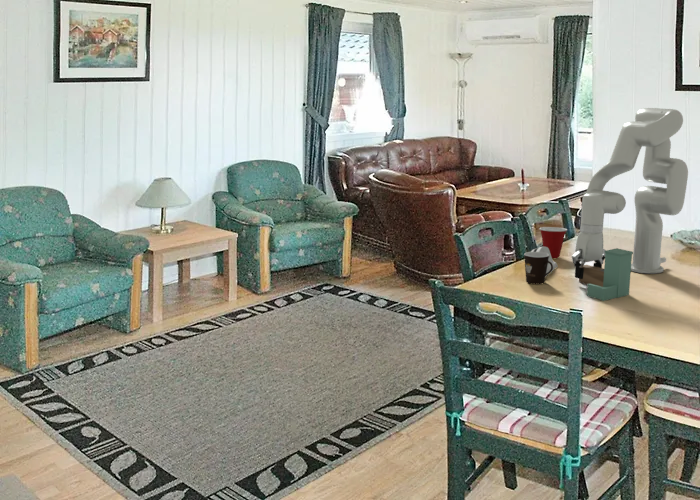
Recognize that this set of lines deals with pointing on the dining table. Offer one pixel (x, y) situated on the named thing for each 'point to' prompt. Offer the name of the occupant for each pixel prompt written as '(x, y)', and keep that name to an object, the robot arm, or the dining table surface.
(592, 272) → the brown wooden block
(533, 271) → the coffee mug
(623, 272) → the headboard post
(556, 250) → the plastic cup
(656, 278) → the dining table surface
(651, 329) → the dining table surface
